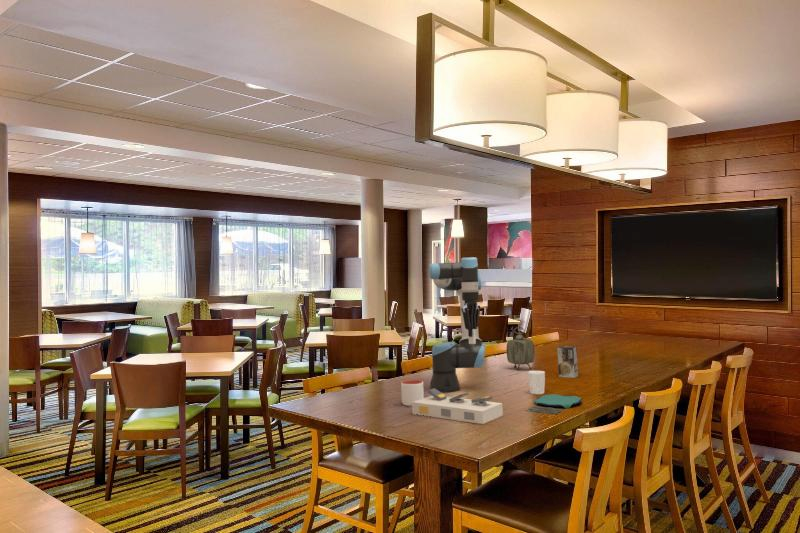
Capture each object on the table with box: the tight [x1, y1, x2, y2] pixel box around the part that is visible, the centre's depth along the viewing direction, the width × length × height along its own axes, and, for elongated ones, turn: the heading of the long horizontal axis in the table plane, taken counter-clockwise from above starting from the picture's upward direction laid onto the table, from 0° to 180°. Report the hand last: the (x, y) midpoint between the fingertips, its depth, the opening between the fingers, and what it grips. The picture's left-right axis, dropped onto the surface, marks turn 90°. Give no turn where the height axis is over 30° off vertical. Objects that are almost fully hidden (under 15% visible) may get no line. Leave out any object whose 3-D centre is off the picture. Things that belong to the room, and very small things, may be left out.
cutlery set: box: [524, 394, 583, 415], centre depth 263 cm, size 20×30×2 cm, turn 142°
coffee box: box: [556, 345, 579, 379], centre depth 329 cm, size 9×6×16 cm
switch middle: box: [449, 391, 469, 402], centre depth 254 cm, size 7×5×1 cm
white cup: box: [527, 370, 546, 395], centre depth 289 cm, size 8×8×10 cm
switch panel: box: [411, 395, 504, 425], centre depth 252 cm, size 34×16×6 cm, turn 52°
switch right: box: [471, 395, 493, 403], centre depth 247 cm, size 7×5×1 cm
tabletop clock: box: [506, 326, 536, 371], centre depth 356 cm, size 14×9×25 cm, turn 46°
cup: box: [400, 379, 425, 407], centre depth 275 cm, size 10×10×10 cm
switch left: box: [427, 388, 448, 401], centre depth 261 cm, size 7×5×1 cm
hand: (472, 343), depth 275 cm, fingers closed
